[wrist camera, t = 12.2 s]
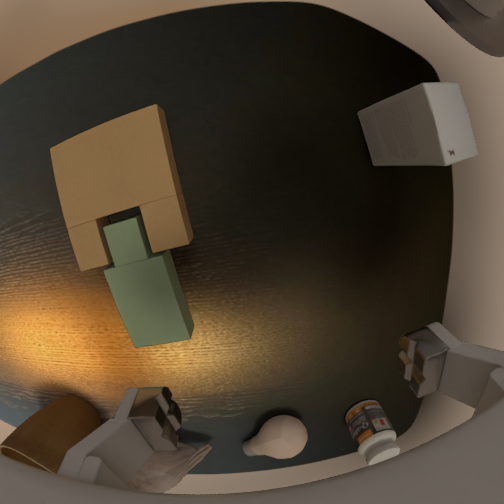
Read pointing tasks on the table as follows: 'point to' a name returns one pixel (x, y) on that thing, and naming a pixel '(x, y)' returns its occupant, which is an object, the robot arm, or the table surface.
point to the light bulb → (278, 438)
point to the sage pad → (145, 286)
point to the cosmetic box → (419, 127)
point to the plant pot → (51, 433)
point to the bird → (167, 468)
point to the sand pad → (120, 184)
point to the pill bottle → (372, 432)
